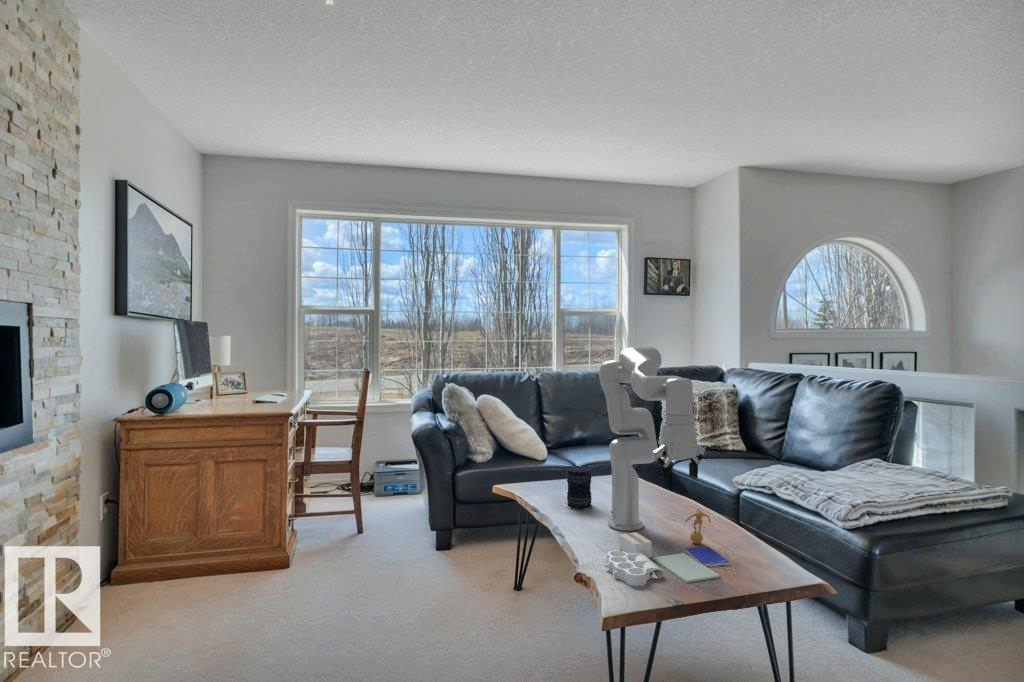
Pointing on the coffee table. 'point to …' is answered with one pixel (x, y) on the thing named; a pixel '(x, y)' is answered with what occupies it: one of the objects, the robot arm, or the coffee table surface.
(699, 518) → the figurine
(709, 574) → the mat
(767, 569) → the coffee table surface
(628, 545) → the card box
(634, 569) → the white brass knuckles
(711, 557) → the hard drive
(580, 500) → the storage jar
